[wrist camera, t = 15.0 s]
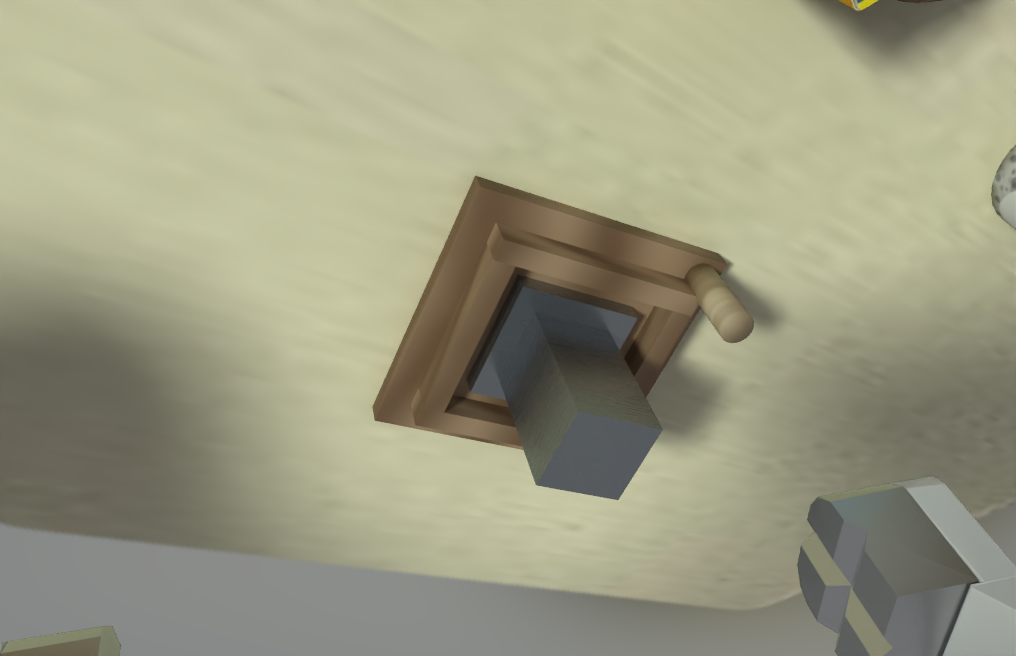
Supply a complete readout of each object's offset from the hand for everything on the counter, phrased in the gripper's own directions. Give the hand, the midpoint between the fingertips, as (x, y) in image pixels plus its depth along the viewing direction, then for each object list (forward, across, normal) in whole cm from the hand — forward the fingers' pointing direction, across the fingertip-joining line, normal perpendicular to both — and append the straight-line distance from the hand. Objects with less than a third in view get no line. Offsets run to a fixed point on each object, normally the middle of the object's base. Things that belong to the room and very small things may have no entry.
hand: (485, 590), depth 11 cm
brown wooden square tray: (+35, -10, +22) cm, 43 cm away
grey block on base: (+34, -10, +22) cm, 42 cm away
